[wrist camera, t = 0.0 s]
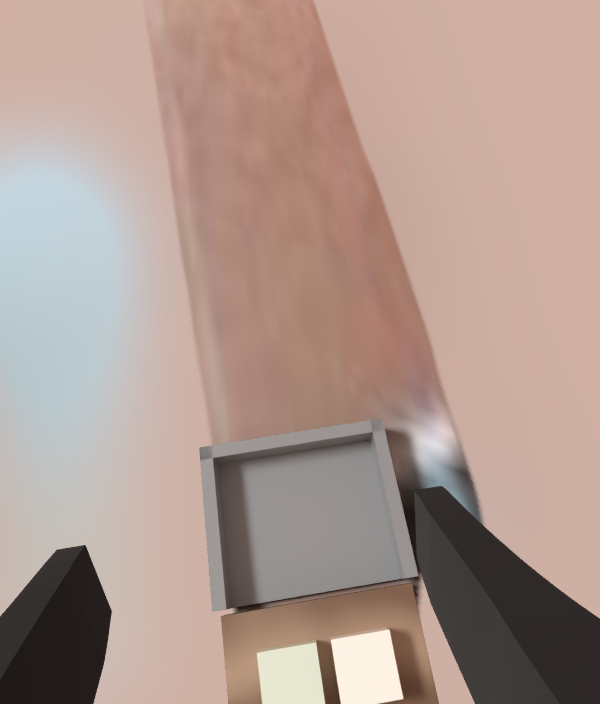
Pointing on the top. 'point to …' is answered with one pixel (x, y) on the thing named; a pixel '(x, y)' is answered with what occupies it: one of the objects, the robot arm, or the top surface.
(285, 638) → the plate
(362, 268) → the top surface
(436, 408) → the top surface
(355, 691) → the cream tile
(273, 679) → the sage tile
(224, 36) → the top surface
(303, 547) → the tray
